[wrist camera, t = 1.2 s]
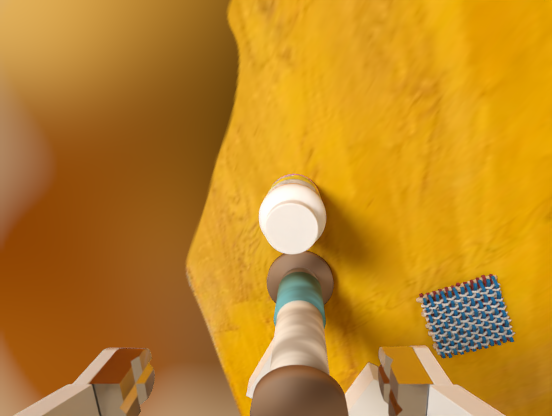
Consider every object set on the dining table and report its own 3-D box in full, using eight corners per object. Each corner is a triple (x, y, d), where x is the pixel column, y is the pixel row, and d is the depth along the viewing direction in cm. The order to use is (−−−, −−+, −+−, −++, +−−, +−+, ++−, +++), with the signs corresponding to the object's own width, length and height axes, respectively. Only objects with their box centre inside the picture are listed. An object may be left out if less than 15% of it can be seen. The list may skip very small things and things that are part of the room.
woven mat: (433, 353, 41) (440, 364, 39) (412, 292, 39) (418, 300, 37) (510, 333, 39) (521, 344, 37) (491, 268, 37) (502, 275, 35)
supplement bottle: (308, 230, 37) (312, 276, 25) (261, 212, 37) (242, 250, 25) (328, 183, 36) (342, 208, 23) (279, 165, 36) (267, 180, 23)
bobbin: (344, 268, 38) (389, 402, 19) (313, 318, 41) (324, 484, 21) (285, 238, 38) (269, 345, 19) (257, 291, 40) (217, 433, 21)
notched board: (415, 385, 42) (424, 403, 39) (373, 437, 45) (378, 458, 42) (283, 321, 41) (282, 335, 38) (249, 378, 44) (246, 395, 41)
